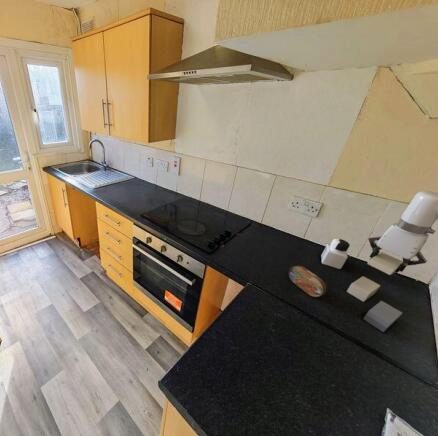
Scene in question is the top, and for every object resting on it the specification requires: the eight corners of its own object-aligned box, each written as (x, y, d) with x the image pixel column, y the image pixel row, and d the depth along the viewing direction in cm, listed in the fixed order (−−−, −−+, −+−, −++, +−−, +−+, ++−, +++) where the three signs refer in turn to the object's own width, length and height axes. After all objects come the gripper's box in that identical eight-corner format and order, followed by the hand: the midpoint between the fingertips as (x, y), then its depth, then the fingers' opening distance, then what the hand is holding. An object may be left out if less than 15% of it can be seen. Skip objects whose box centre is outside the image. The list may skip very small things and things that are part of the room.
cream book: (401, 267, 87) (405, 262, 86) (390, 275, 83) (394, 270, 81) (378, 256, 92) (381, 251, 91) (367, 263, 88) (370, 258, 87)
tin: (285, 276, 104) (292, 262, 100) (290, 275, 105) (297, 261, 101) (317, 301, 92) (325, 286, 88) (322, 299, 93) (331, 284, 89)
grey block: (395, 321, 85) (402, 312, 83) (383, 332, 81) (390, 323, 78) (374, 308, 90) (381, 300, 87) (362, 318, 86) (369, 310, 83)
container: (338, 261, 115) (350, 240, 109) (340, 269, 110) (353, 248, 103) (320, 255, 119) (331, 235, 113) (321, 263, 113) (332, 242, 107)
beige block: (374, 293, 97) (380, 285, 94) (363, 301, 93) (369, 293, 90) (357, 283, 102) (363, 276, 99) (346, 291, 97) (351, 283, 95)
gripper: (452, 236, 74) (418, 276, 82) (385, 213, 87) (361, 250, 96) (445, 242, 70) (410, 283, 79) (376, 217, 84) (353, 255, 92)
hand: (384, 265), depth 87 cm, fingers closed on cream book, 7 cm apart
